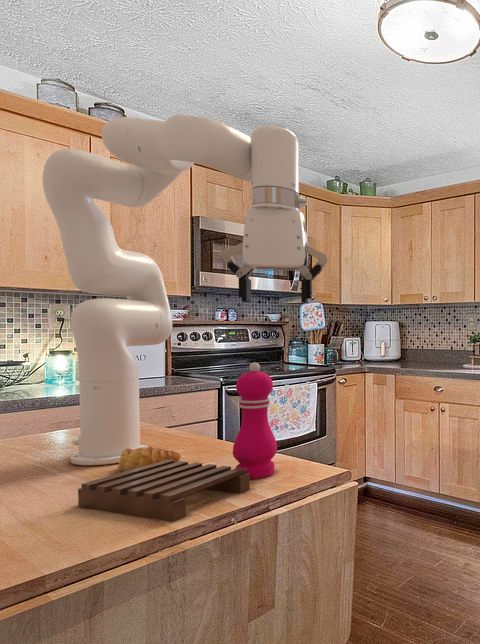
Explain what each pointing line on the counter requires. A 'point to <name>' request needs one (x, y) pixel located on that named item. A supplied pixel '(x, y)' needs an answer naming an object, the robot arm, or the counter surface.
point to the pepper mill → (255, 424)
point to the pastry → (145, 457)
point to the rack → (159, 488)
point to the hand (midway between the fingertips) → (276, 302)
